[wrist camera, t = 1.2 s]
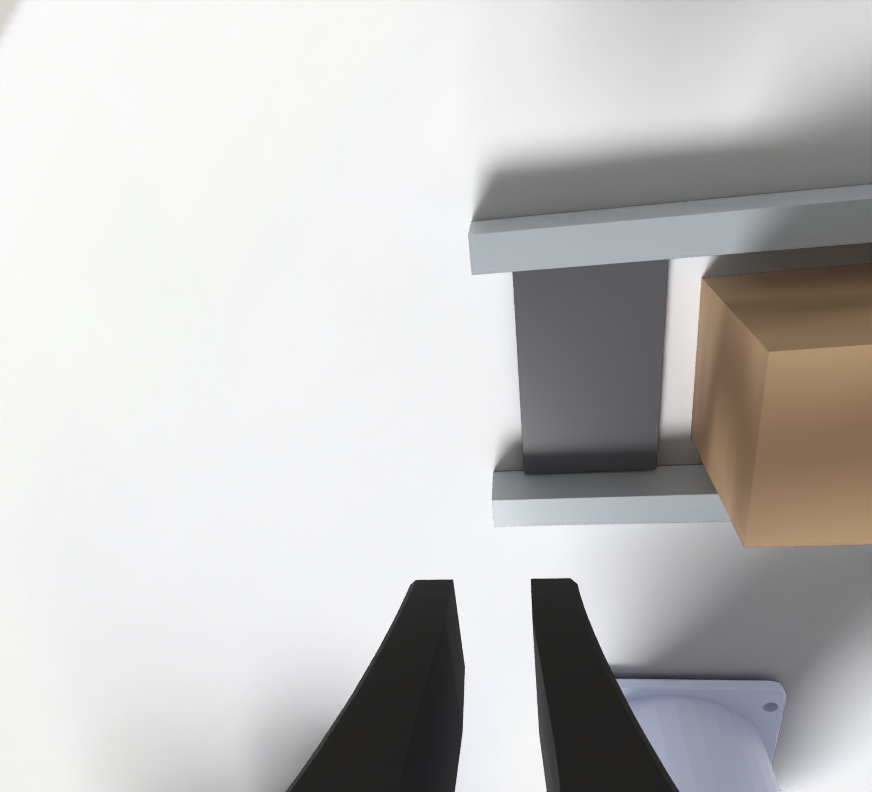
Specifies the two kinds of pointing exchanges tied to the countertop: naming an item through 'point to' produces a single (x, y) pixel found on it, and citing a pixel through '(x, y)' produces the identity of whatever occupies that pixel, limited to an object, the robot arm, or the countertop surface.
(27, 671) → the countertop surface
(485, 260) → the channel
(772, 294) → the brown rectangular block
